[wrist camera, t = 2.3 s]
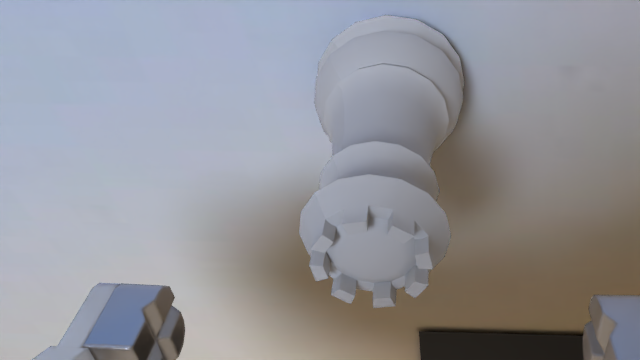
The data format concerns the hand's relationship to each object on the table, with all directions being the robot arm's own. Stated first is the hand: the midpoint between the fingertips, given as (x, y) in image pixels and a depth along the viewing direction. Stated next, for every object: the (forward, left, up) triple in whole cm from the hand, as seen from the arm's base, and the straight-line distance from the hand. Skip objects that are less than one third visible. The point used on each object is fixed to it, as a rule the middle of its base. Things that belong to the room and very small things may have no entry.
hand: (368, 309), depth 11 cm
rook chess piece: (0, 0, -9) cm, 9 cm away
